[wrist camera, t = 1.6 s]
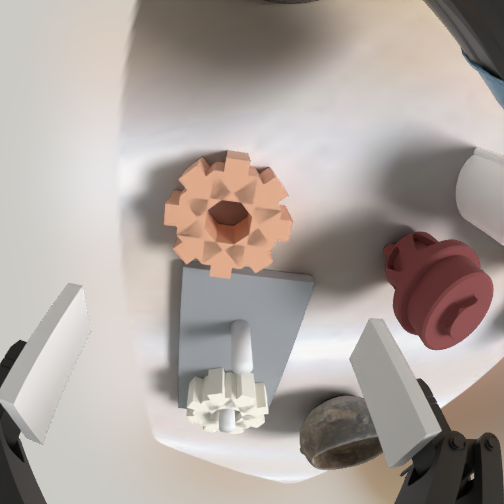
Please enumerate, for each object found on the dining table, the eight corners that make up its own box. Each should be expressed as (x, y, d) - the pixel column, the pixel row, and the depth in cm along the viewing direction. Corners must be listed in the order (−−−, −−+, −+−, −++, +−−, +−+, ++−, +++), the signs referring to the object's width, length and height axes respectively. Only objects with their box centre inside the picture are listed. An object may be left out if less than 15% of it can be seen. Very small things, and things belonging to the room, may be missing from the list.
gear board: (185, 259, 30) (172, 304, 23) (311, 275, 31) (330, 321, 25) (179, 399, 40) (174, 441, 34) (265, 407, 42) (269, 448, 35)
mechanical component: (416, 296, 34) (352, 283, 32) (452, 226, 30) (389, 200, 28) (465, 364, 23) (397, 364, 21) (520, 281, 19) (463, 258, 17)
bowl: (317, 376, 39) (333, 435, 30) (397, 381, 42) (419, 428, 33) (280, 425, 45) (287, 475, 36) (355, 426, 48) (368, 469, 39)
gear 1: (179, 144, 25) (170, 150, 21) (295, 161, 26) (305, 171, 22) (170, 249, 29) (161, 269, 25) (272, 262, 30) (277, 284, 27)
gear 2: (177, 373, 35) (173, 398, 32) (256, 361, 35) (259, 387, 31) (203, 414, 40) (202, 437, 36) (271, 405, 39) (274, 428, 36)
